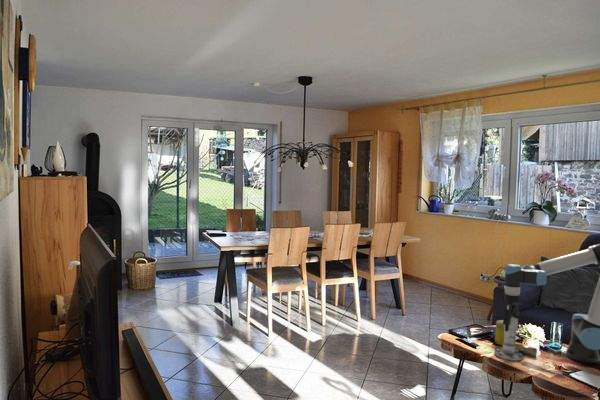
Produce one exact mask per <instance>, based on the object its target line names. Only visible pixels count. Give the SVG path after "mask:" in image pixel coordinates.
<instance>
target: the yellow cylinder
mask: <svg viewBox="0 0 600 400" xmlns="http://www.w3.org/2000/svg"><path fill="white" fill-rule="evenodd" d="M503 320H504V319H498V320H496V321H495V332H494V333H495V336H494V338H495V339H494V343H495V344H497V345H499V346H502V347H503V344H504V324H503Z"/></svg>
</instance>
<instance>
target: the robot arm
mask: <svg viewBox="0 0 600 400" xmlns="http://www.w3.org/2000/svg"><path fill="white" fill-rule="evenodd" d="M590 264H591V265H592V264H595V265H599V268H600V243H598V244H593V245H590V246H588V248H587V249H584V250H580V251H577V252H574V253H570V254H566V255H561V256H559V257H555V258H551V259H548V260H543V261H540V262H538V263H533V264H530V263H529V264H527V263H526V264H525V265H524V266H521V265H520V264H514V263H508V264H506V265H505V269H504V270H505V271H504V286H503V288H504V297H503V299H504V301H505V302H507V304H506V305H505V310H504V317H503V319H502V320H503V324H504V336H505V337H509V338H510V321H511V317H512V316H514V317H515V321H514V322H515V323H516V325H517V331H516V332H518V326H519V323H518V322H519V319H520V318H521V317H520V310H519V303H520V302H521V295H520V294H521V285H522V284H523V285H535V286H545V285H546V284H547V281H548V280H547V279H548V278H547V276H549V275H553V274H557V273H562V272H564V271H565V272H566V271H569V270H573V269H576V268H581V267H584V266H588V265H590ZM591 299H592V300H591V303H590V305H589V309H588V312H587V314H585V313H574V314H572V318H571V333H570V334H571V335H570V342H569V344H568V346H567V348H566V353H565V354H566V356H567V357H568V358H569V359H572V360H574V361H577V362H582V363H586V364H587V363H588V364H597V363H599V362H600V353H599V351H600V276H599V278H598V281H597V285H596V287H595V290H594V293H593V296H592V298H591Z"/></svg>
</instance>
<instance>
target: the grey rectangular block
mask: <svg viewBox="0 0 600 400" xmlns="http://www.w3.org/2000/svg"><path fill="white" fill-rule="evenodd" d="M515 344H516V351H519V352H520V353H521V354H522V355H526V356H531V357H534V358H536V357H537V353H538V349H537V348H536V347H532V346H529V345H528V346H527V345H524V344H519V343H515Z"/></svg>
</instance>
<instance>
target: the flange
mask: <svg viewBox="0 0 600 400" xmlns="http://www.w3.org/2000/svg"><path fill="white" fill-rule="evenodd" d="M493 353H494V356H495V357H497V358H498V359H502V360H505V361H508V362H509V361H510V362H520V361H523V359H524V354H522V353H520V352H519V351H516V353H515V354H506V353H504V352H503V349H502V348H496V349H495V350H494V352H493Z"/></svg>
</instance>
